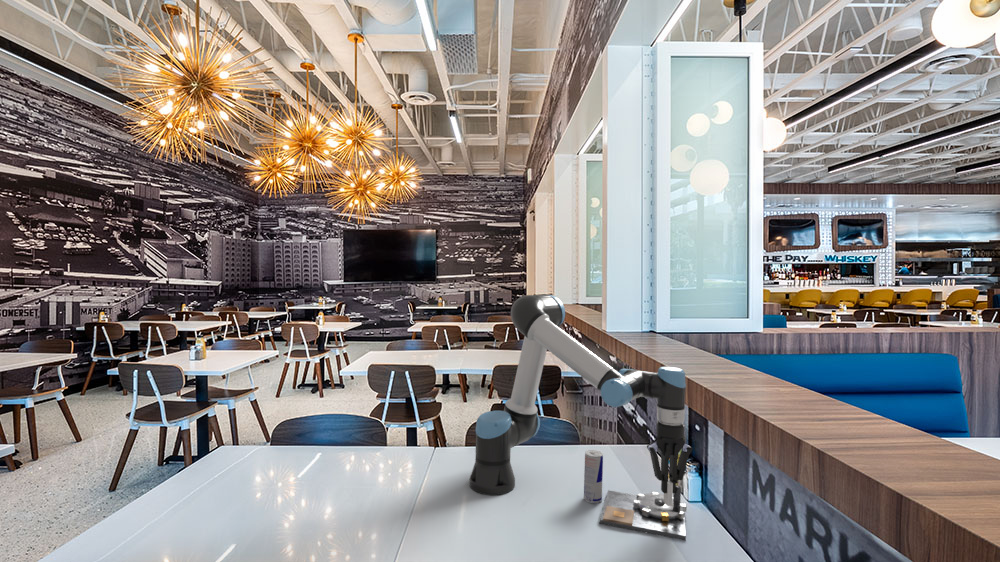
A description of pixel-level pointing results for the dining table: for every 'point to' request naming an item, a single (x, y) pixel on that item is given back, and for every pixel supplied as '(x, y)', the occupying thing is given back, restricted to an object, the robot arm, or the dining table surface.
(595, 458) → the beverage can
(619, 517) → the marked pad
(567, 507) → the dining table surface
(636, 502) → the index wheel
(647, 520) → the base plate
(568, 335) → the robot arm
